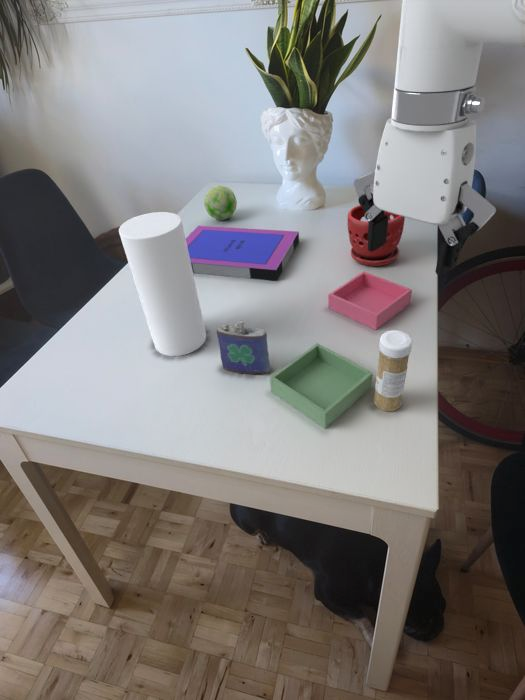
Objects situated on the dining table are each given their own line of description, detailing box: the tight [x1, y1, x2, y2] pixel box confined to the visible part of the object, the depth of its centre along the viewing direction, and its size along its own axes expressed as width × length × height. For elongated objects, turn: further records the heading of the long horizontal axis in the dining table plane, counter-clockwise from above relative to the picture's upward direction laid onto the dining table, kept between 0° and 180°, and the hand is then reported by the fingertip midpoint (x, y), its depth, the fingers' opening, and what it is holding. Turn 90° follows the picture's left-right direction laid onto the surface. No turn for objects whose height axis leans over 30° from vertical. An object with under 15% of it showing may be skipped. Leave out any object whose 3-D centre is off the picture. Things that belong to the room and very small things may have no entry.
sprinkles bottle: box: [373, 329, 413, 412], centre depth 67 cm, size 5×5×14 cm
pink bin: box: [327, 271, 413, 331], centre depth 92 cm, size 12×12×4 cm
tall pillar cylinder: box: [118, 211, 207, 357], centre depth 82 cm, size 11×11×25 cm
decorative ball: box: [203, 185, 238, 221], centre depth 133 cm, size 10×10×10 cm
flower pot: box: [347, 204, 406, 267], centre depth 106 cm, size 13×13×12 cm
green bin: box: [269, 342, 374, 429], centre depth 74 cm, size 12×12×4 cm
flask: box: [216, 319, 271, 376], centre depth 78 cm, size 9×3×11 cm, turn 74°
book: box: [185, 225, 300, 282], centre depth 115 cm, size 21×3×30 cm
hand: (408, 258), depth 55 cm, fingers open, 9 cm apart
